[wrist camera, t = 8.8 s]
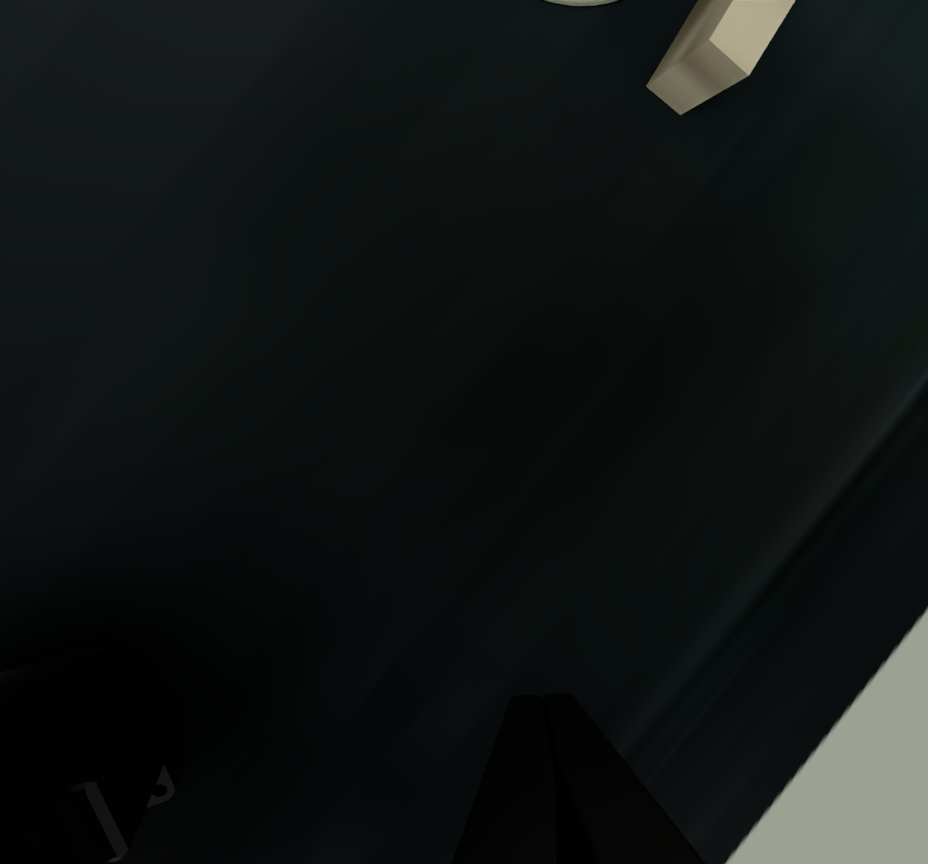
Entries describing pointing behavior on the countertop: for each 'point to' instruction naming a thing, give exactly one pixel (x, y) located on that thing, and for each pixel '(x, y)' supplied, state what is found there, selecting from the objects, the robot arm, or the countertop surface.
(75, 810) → the robot arm
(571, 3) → the can
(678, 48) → the frame
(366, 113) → the countertop surface
